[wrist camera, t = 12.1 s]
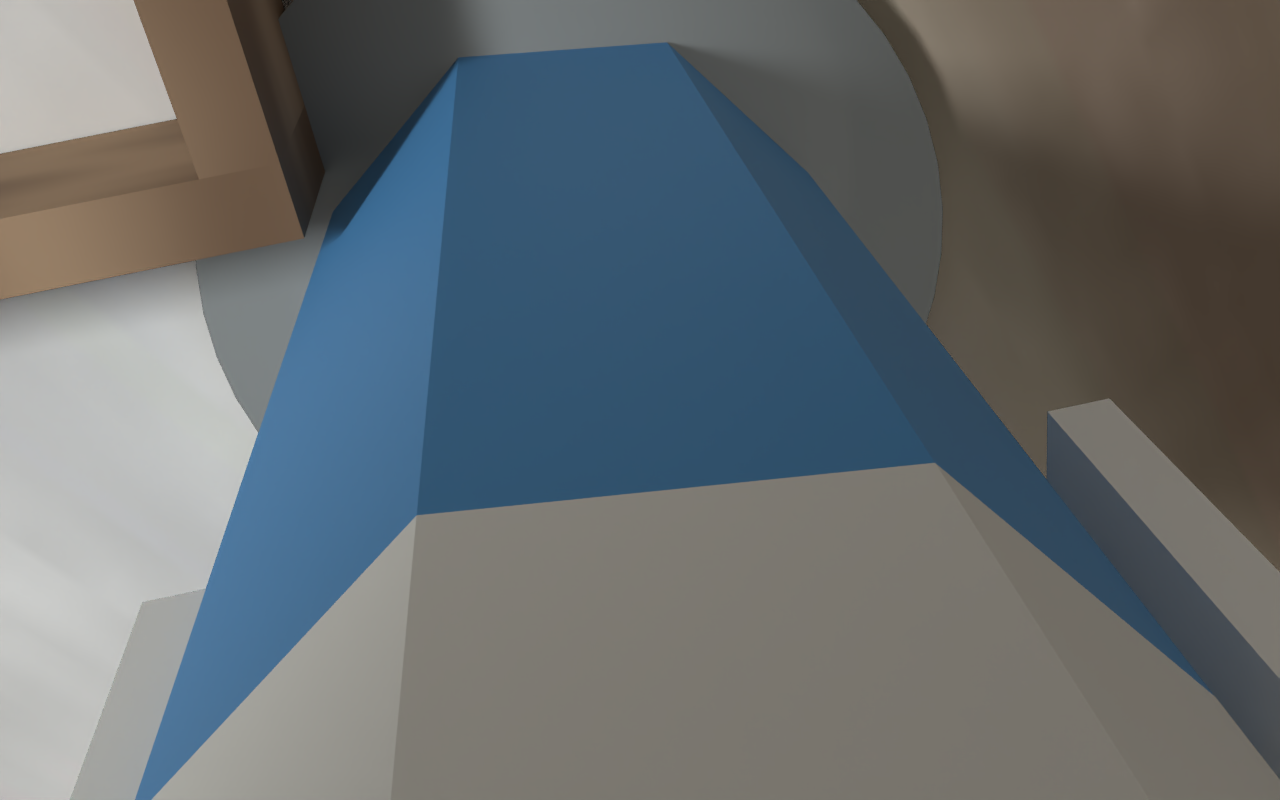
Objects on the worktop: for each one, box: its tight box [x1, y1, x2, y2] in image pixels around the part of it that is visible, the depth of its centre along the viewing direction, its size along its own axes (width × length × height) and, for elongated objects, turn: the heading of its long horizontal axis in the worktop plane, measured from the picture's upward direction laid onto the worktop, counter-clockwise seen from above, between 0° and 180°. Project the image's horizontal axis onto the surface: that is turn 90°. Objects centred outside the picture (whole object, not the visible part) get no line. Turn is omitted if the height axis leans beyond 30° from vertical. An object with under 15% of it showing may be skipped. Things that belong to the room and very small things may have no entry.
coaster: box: [196, 0, 943, 433], centre depth 23 cm, size 14×14×1 cm
